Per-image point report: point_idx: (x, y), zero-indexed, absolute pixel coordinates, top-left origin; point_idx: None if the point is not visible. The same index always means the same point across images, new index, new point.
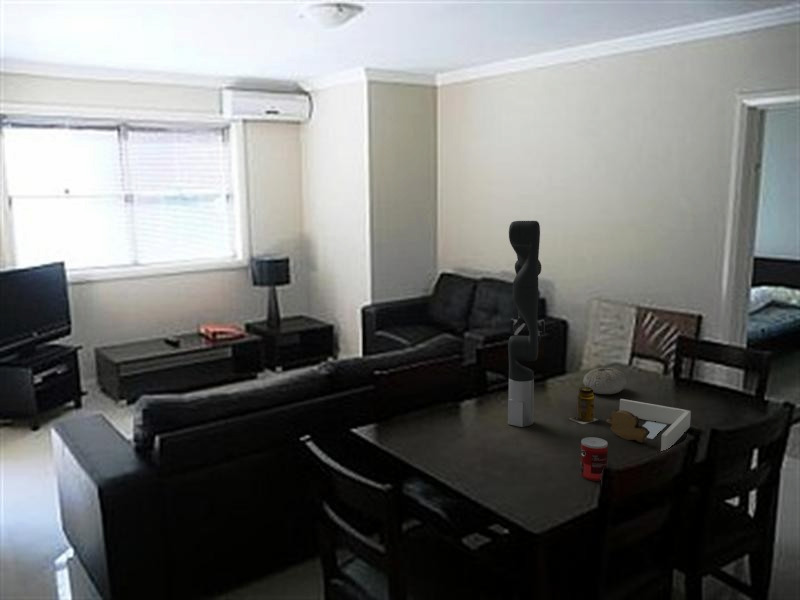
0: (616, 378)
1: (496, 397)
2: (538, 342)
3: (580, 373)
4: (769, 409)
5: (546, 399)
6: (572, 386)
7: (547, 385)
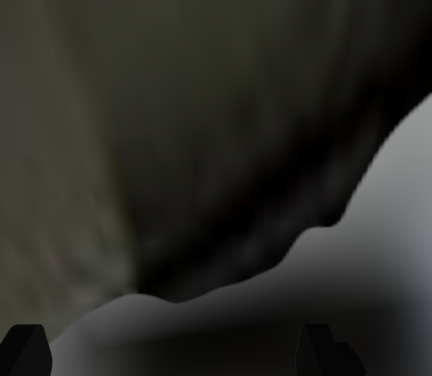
0: None
1: (352, 5)
2: (4, 350)
3: None
4: None
5: (75, 16)
6: (17, 228)
7: (118, 224)
